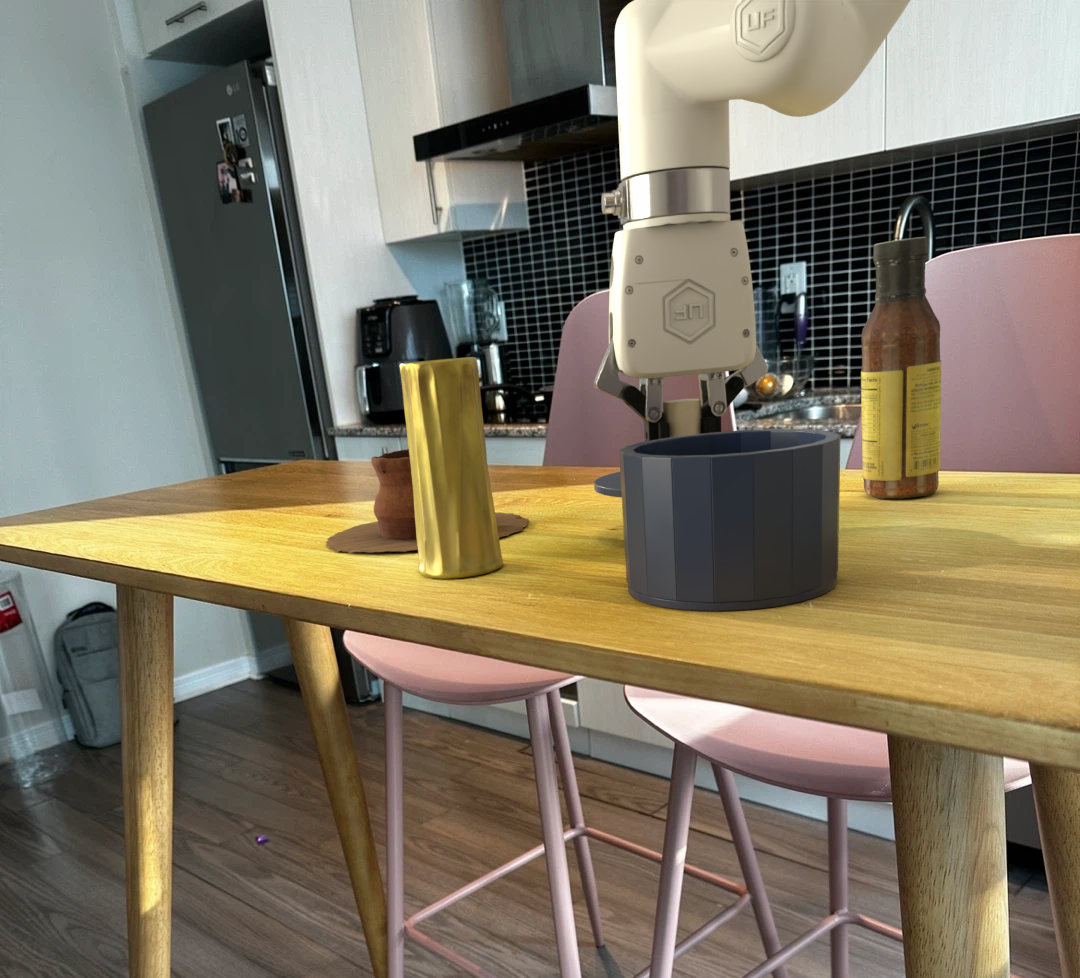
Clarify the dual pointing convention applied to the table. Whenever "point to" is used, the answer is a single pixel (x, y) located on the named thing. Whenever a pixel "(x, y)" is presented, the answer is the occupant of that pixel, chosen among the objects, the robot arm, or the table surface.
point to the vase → (449, 469)
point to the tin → (731, 518)
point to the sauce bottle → (901, 377)
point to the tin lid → (681, 422)
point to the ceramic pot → (398, 512)
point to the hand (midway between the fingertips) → (683, 470)
